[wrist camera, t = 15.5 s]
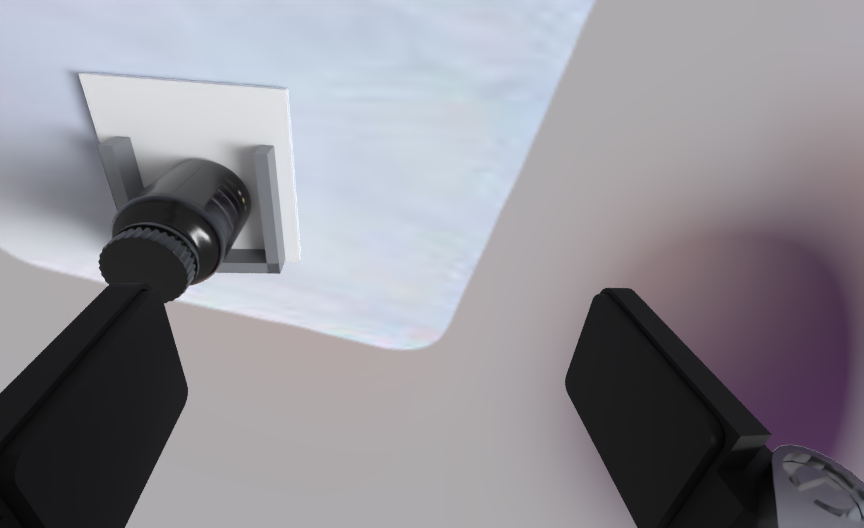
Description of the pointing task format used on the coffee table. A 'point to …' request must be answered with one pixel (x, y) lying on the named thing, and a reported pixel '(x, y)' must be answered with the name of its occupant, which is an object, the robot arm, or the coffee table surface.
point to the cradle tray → (204, 150)
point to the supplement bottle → (177, 228)
